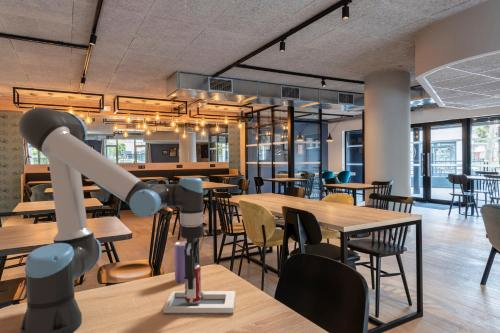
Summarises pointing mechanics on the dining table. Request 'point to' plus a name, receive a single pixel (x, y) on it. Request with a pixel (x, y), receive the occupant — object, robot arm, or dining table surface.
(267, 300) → the dining table surface
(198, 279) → the soda can
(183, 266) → the beverage can
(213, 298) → the keyhole board
